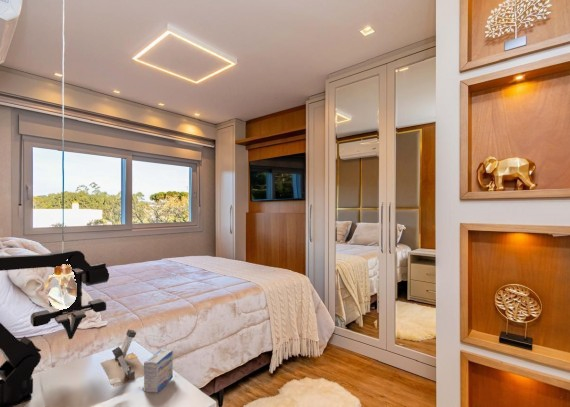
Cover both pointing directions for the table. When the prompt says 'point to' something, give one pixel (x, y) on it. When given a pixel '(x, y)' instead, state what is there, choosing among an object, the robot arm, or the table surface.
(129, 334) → the far lever
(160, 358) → the medicine box
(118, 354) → the near lever
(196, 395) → the table surface
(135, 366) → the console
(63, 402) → the table surface
